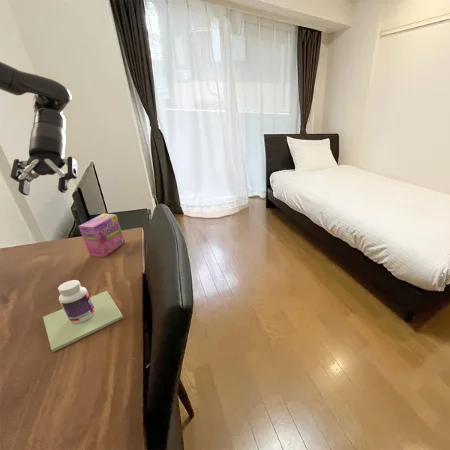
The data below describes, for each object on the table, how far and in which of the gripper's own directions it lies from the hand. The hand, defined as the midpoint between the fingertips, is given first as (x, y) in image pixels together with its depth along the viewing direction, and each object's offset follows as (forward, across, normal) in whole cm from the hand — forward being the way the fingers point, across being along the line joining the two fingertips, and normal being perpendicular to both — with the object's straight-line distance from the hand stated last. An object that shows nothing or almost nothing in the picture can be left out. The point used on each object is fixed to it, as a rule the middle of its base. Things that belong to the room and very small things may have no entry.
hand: (43, 192), depth 74 cm
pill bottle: (+35, +10, +2) cm, 36 cm away
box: (+10, +5, +28) cm, 30 cm away
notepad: (+35, +10, +2) cm, 36 cm away
